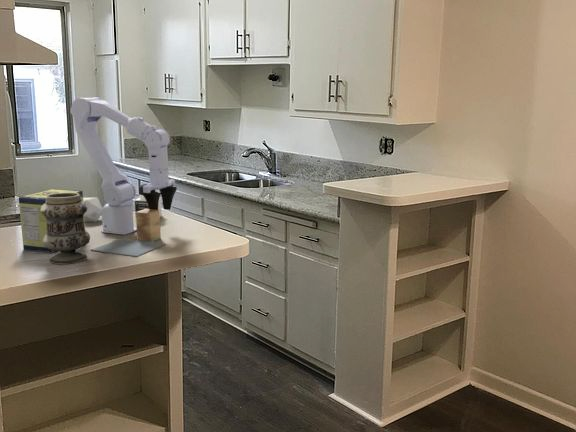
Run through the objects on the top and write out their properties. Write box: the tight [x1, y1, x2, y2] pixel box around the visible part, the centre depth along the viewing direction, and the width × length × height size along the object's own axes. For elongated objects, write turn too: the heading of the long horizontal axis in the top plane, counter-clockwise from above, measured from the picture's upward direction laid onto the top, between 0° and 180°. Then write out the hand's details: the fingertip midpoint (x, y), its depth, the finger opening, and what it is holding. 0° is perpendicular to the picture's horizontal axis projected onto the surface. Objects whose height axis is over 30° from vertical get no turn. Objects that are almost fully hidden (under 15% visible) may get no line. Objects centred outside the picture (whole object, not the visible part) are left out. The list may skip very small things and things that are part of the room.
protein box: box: [18, 188, 86, 253], centre depth 176 cm, size 10×16×16 cm
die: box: [83, 197, 103, 223], centre depth 207 cm, size 8×9×10 cm
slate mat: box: [90, 237, 167, 258], centre depth 174 cm, size 16×14×1 cm
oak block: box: [135, 209, 162, 242], centre depth 182 cm, size 5×5×9 cm
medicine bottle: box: [134, 183, 163, 217], centre depth 211 cm, size 7×7×12 cm
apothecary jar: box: [41, 192, 91, 265], centre depth 161 cm, size 12×12×18 cm
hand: (160, 211), depth 188 cm, fingers open, 6 cm apart
